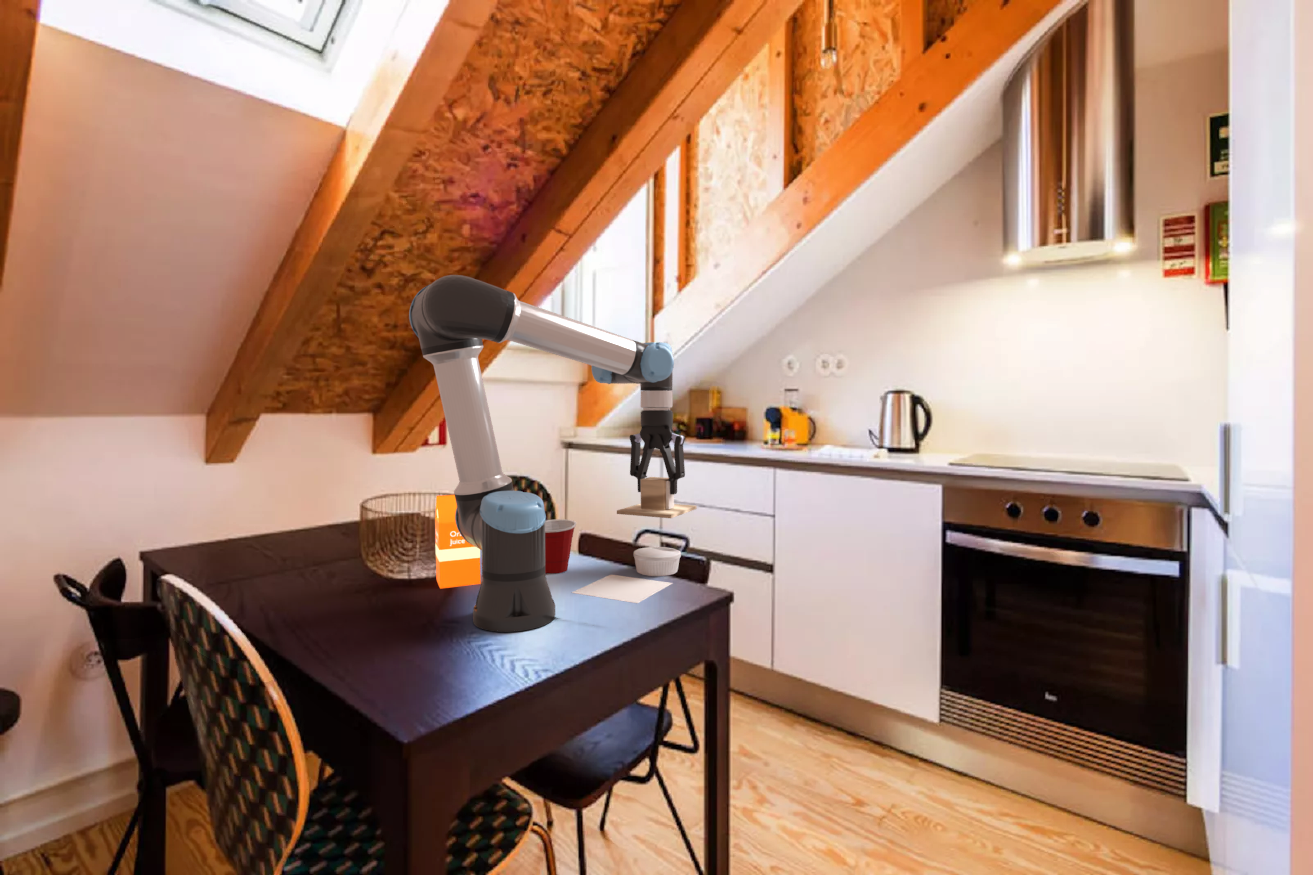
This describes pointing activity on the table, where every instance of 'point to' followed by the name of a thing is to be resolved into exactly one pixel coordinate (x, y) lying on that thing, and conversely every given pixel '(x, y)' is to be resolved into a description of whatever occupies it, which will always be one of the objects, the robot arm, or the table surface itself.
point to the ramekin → (657, 561)
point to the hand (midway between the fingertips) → (657, 506)
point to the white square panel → (623, 588)
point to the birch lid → (655, 501)
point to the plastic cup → (558, 544)
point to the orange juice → (453, 548)
